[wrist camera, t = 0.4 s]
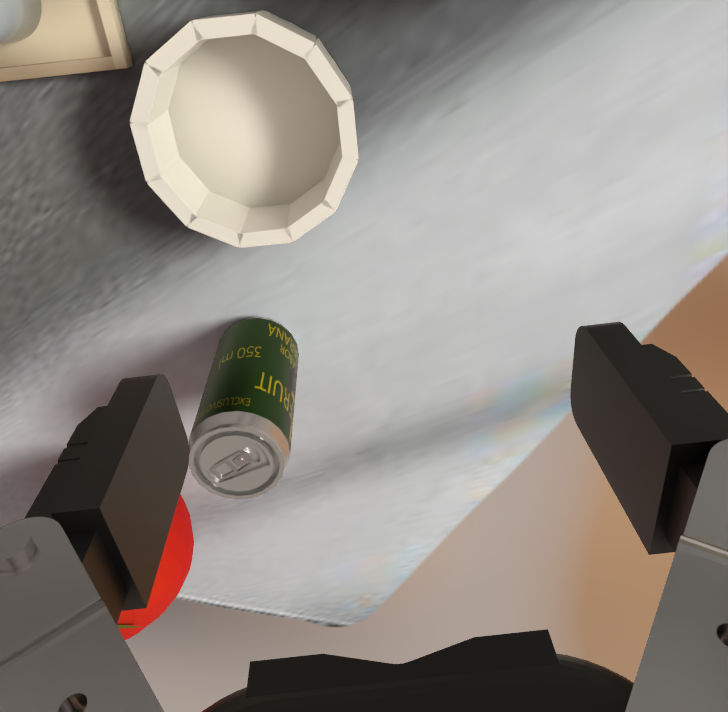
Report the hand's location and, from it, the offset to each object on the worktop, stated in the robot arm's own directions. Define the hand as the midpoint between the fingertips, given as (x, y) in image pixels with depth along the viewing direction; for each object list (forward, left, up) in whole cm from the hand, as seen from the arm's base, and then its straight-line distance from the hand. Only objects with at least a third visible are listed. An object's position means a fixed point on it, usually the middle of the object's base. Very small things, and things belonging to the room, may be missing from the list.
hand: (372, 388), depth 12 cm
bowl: (-1, -5, -26) cm, 27 cm away
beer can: (+14, -7, -27) cm, 31 cm away
